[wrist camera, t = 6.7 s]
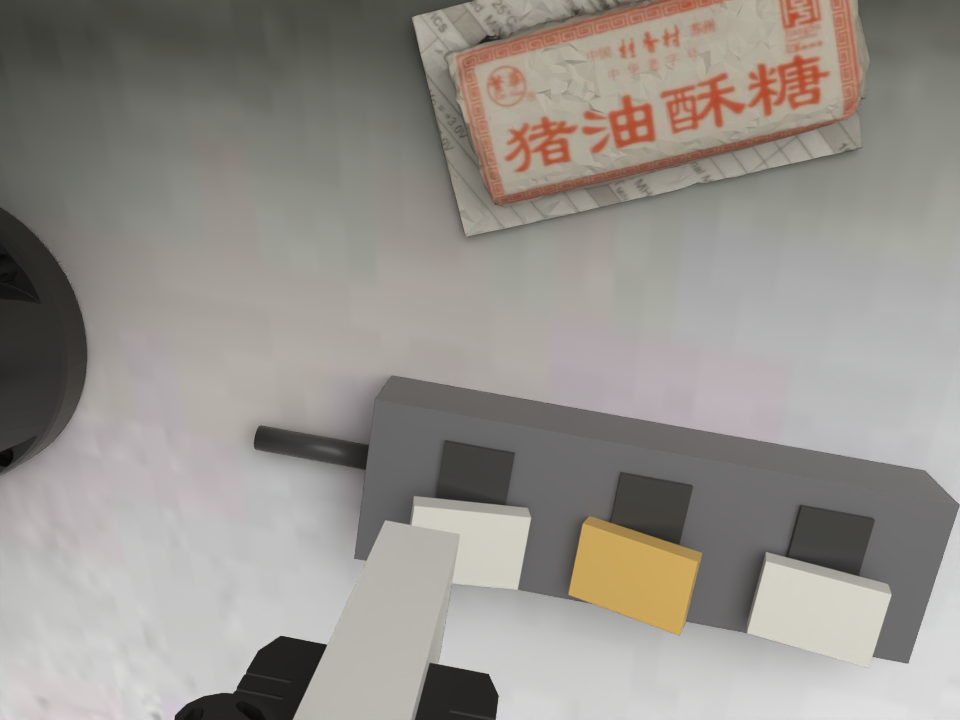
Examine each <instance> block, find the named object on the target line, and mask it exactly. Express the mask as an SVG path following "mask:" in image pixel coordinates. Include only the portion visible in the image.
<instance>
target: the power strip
mask: <svg viewBox="0 0 960 720" xmlns="http://www.w3.org/2000/svg"><path fill="white" fill-rule="evenodd" d="M254 448H255V449H256V450H261V451H267V452H272V453H278V454H283V455H289V456H294V457H299V458H305V459H310V460H316V461H321V462H327V463H332V464H337V465H343V466H348V467H354V468H359V469H364V470H366V473H365V481H364V488H363V496H362V503H361V511H360V519H359V526H358V534H357V541H356V549H355V557H354V559H360V560H365V561H367V559H368V556H369V554H370V552H371V550H372V548H373V546H374V543H375V541H376V539H377V537H378V535H379V533H380V531H381V528H382V526H383V524H384V522H385V520H386V521H392V522H397V523H402V524H408V525H410V519H411V512H412V505H413V499H414V496H418V497H428V498H437V499H447V500H457V501H466V502H476V503H486V504H496V505H505V506H515V507H525V508H528V510H529V513H530V516H531V521H530V527H529V532H528V537H527V543H526V548H525V553H524V559H523V564H522V569H521V575H520V580H519V585H518V590H523V591H528V592H534V593H539V594H544V595H549V596H555V597H560V598H565V599H570V600H576V601H581V602H586V603H589V602H587V601H584V600H581V599H579V598H576V597H573V596H570V595H568V594H569V589H570V584H571V579H572V574H573V569H574V564H575V559H576V554H577V549H578V545H579V540H580V535H581V530H582V525H583V523H584V522H585V520H586V519H587V518H588V517H589V516H590V517H595V518H598V519H601V520H604V521H607V522H610V523H612V524H616V525H619V526H622V527H625V528H628V529H631V530H634V531H637V532H640V533H643V534H646V535H649V536H652V537H655V538H658V539H661V540H664V541H667V542H670V543H673V544H676V545H680V546H683V547H686V548H689V549H692V550H695V551H698V552H701V553H702V557H701V561H700V565H699V569H698V573H697V577H696V581H695V585H694V589H693V593H692V597H691V602H690V606H689V610H688V614H687V618H686V622H692V623H697V624H702V625H707V626H713V627H718V628H723V629H728V630H734V631H739V632H744V633H747V621H748V617H749V613H750V610H751V606H752V602H753V598H754V594H755V591H756V587H757V583H758V579H759V576H760V572H761V568H762V564H763V561H764V557H765V553H766V552H768V553H772V554H776V555H780V556H784V557H787V558H791V559H795V560H799V561H802V562H806V563H810V564H814V565H818V566H821V567H825V568H829V569H833V570H837V571H840V572H844V573H848V574H852V575H856V576H859V577H863V578H867V579H871V580H875V581H878V582H882V583H886V584H888V585H889V588H890V591H891V594H892V595H891V598H890V601H889V605H888V608H887V611H886V614H885V617H884V621H883V624H882V627H881V630H880V634H879V637H878V640H877V643H876V646H875V650H874V653H873V656H872V657H876V658H881V659H887V660H892V661H897V662H902V663H909V660H910V656H911V653H912V650H913V647H914V644H915V641H916V638H917V635H918V632H919V629H920V626H921V622H922V619H923V616H924V613H925V610H926V607H927V604H928V601H929V598H930V595H931V592H932V589H933V585H934V582H935V579H936V576H937V573H938V570H939V567H940V564H941V561H942V558H943V555H944V552H945V548H946V545H947V542H948V539H949V536H950V533H951V530H952V527H953V524H954V521H955V518H956V515H957V511H958V508H959V504H958V503H957V502H956V501H955V500H954V499H953V498H952V497H951V496H950V495H949V494H948V493H947V492H946V491H945V490H944V489H943V488H942V487H941V486H940V485H939V484H938V483H937V482H936V481H935V480H934V479H933V478H932V477H931V476H930V475H929V474H928V473H927V472H926V471H924V470H918V469H912V468H907V467H901V466H896V465H890V464H884V463H879V462H873V461H868V460H862V459H856V458H851V457H845V456H840V455H834V454H828V453H823V452H817V451H812V450H806V449H800V448H795V447H789V446H784V445H778V444H772V443H767V442H761V441H756V440H750V439H744V438H739V437H733V436H728V435H722V434H716V433H711V432H705V431H700V430H694V429H689V428H683V427H677V426H672V425H666V424H661V423H655V422H649V421H644V420H638V419H633V418H627V417H621V416H616V415H610V414H605V413H599V412H593V411H588V410H582V409H577V408H571V407H565V406H560V405H554V404H549V403H543V402H537V401H532V400H526V399H521V398H515V397H509V396H504V395H498V394H493V393H487V392H481V391H476V390H470V389H465V388H459V387H453V386H448V385H442V384H437V383H431V382H425V381H420V380H414V379H409V378H403V377H398V376H391V378H390V379H389V380H388V382H387V383H386V385H385V386H384V388H383V389H382V390H381V392H380V393H379V395H378V396H377V398H376V399H375V405H374V412H373V420H372V427H371V435H370V443H369V445H365V444H359V443H354V442H348V441H343V440H337V439H332V438H326V437H321V436H315V435H310V434H305V433H299V432H294V431H288V430H283V429H277V428H272V427H266V426H259V427H258V429H257V431H256V435H255V439H254ZM591 604H592V603H591Z"/></svg>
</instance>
